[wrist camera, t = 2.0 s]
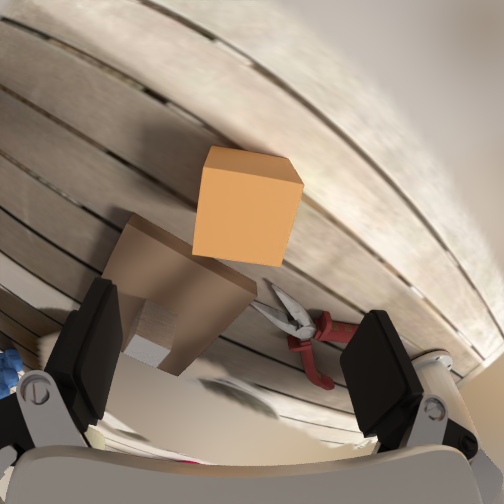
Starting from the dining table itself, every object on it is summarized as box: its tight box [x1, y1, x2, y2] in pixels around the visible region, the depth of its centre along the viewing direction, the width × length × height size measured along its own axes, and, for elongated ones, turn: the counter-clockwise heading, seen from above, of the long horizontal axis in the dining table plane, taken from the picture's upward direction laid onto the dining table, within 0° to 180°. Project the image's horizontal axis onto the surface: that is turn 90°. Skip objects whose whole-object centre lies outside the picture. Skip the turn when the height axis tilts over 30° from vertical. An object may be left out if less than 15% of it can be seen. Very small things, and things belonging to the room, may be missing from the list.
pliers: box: [251, 283, 359, 390], centre depth 33 cm, size 12×20×3 cm, turn 44°
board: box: [101, 213, 257, 376], centre depth 27 cm, size 13×16×6 cm
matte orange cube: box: [192, 146, 304, 267], centre depth 21 cm, size 6×6×6 cm
